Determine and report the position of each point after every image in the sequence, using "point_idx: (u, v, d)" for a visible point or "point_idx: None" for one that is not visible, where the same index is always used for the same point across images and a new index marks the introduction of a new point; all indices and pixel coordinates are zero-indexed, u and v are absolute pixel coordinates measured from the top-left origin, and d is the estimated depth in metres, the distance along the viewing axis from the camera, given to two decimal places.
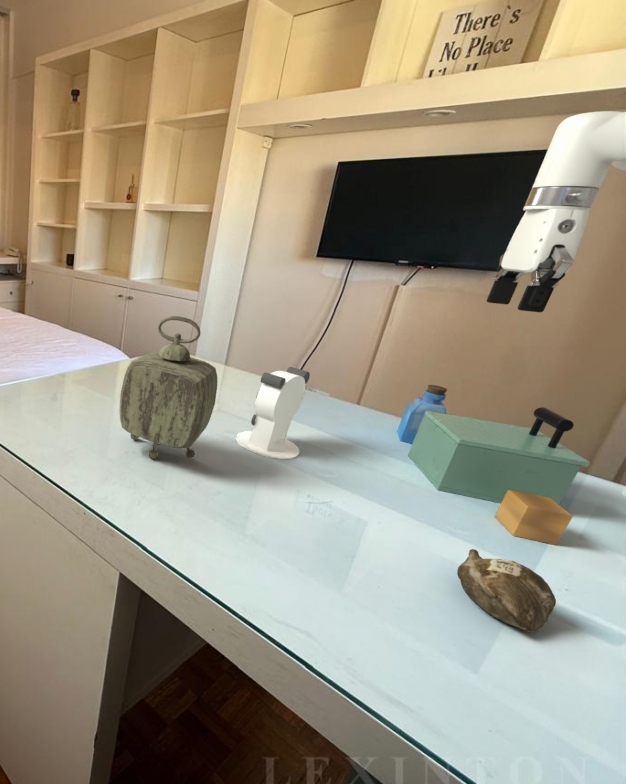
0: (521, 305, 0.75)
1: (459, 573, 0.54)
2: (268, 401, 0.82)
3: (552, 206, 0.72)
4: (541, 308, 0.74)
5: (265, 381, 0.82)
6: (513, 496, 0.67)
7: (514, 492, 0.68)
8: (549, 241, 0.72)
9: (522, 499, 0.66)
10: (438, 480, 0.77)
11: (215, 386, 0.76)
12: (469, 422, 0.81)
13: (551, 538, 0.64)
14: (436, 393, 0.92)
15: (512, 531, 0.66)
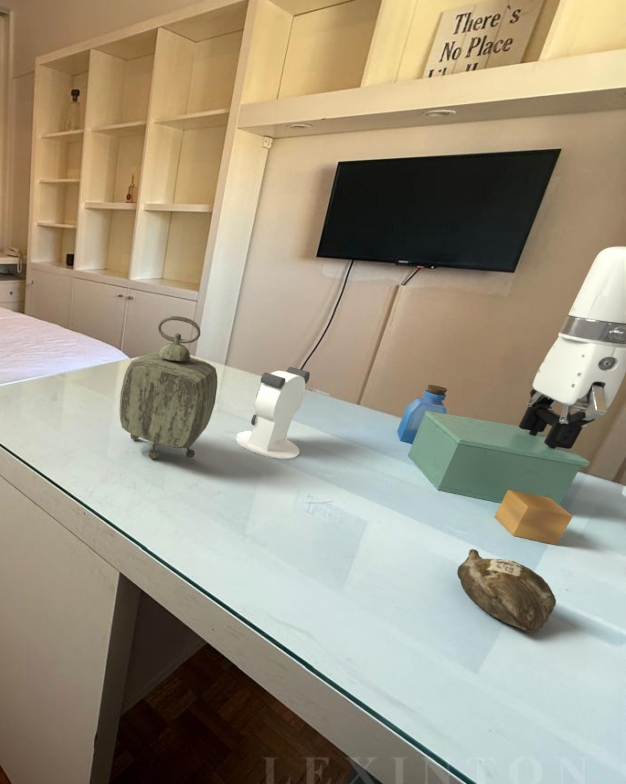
0: (548, 440, 0.72)
1: (459, 573, 0.54)
2: (268, 401, 0.82)
3: (592, 340, 0.67)
4: (569, 445, 0.72)
5: (265, 381, 0.82)
6: (513, 496, 0.67)
7: (514, 492, 0.68)
8: (588, 377, 0.67)
9: (522, 499, 0.66)
10: (438, 480, 0.77)
11: (215, 386, 0.76)
12: (469, 422, 0.81)
13: (551, 538, 0.64)
14: (437, 393, 0.92)
15: (512, 531, 0.66)
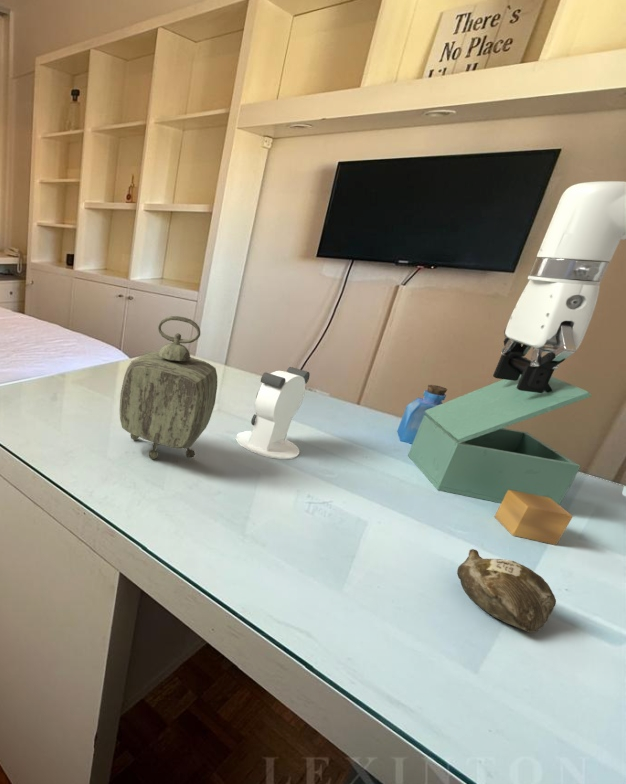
0: (520, 385, 0.71)
1: (459, 573, 0.54)
2: (268, 401, 0.82)
3: (559, 279, 0.66)
4: (541, 389, 0.71)
5: (265, 381, 0.82)
6: (513, 496, 0.67)
7: (514, 492, 0.68)
8: (557, 317, 0.67)
9: (522, 499, 0.66)
10: (438, 480, 0.77)
11: (215, 386, 0.76)
12: (466, 402, 0.81)
13: (551, 538, 0.64)
14: (437, 393, 0.92)
15: (512, 531, 0.66)
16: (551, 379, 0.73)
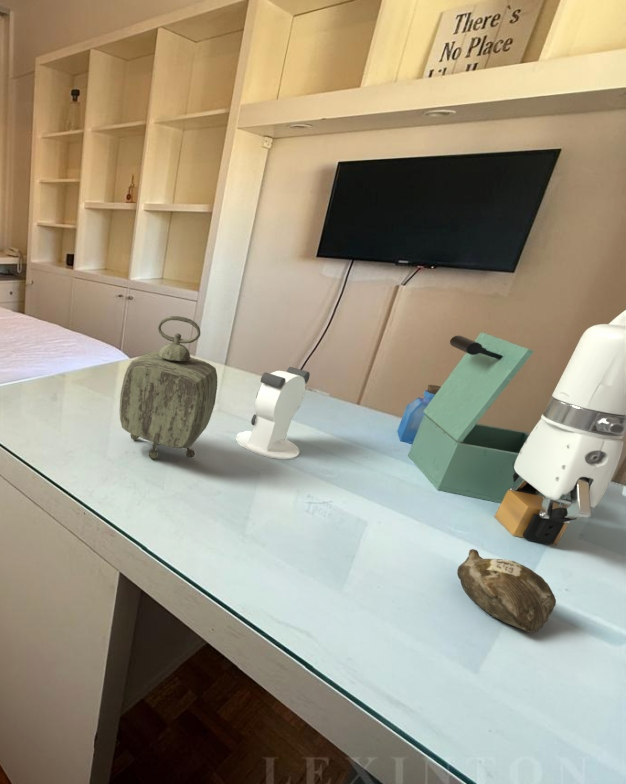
0: (527, 534, 0.65)
1: (459, 573, 0.54)
2: (268, 401, 0.82)
3: (578, 430, 0.59)
4: (550, 540, 0.64)
5: (265, 381, 0.82)
6: (513, 496, 0.67)
7: (514, 492, 0.68)
8: (574, 471, 0.59)
9: (522, 499, 0.66)
10: (438, 480, 0.77)
11: (215, 386, 0.76)
12: (449, 391, 0.81)
13: None
14: None
15: (512, 531, 0.66)
16: (498, 342, 0.74)
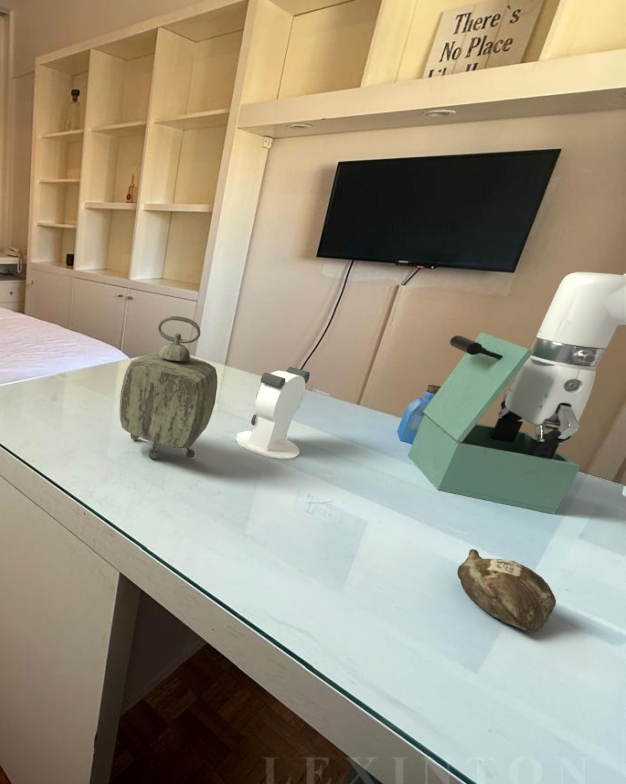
0: None
1: (459, 573, 0.54)
2: (268, 401, 0.82)
3: (557, 362, 0.69)
4: None
5: (265, 381, 0.82)
6: None
7: None
8: (555, 398, 0.70)
9: None
10: (438, 480, 0.77)
11: (215, 386, 0.76)
12: (449, 391, 0.81)
13: None
14: None
15: None
16: (498, 342, 0.74)
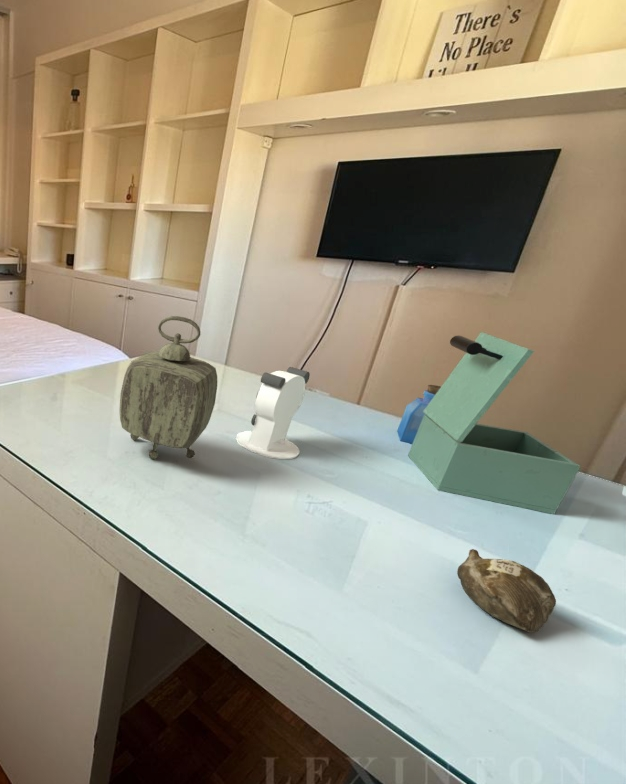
0: None
1: (459, 573, 0.54)
2: (268, 401, 0.82)
3: None
4: None
5: (265, 381, 0.82)
6: None
7: None
8: None
9: None
10: (438, 480, 0.77)
11: (215, 386, 0.76)
12: (449, 391, 0.81)
13: None
14: None
15: None
16: (498, 342, 0.74)
